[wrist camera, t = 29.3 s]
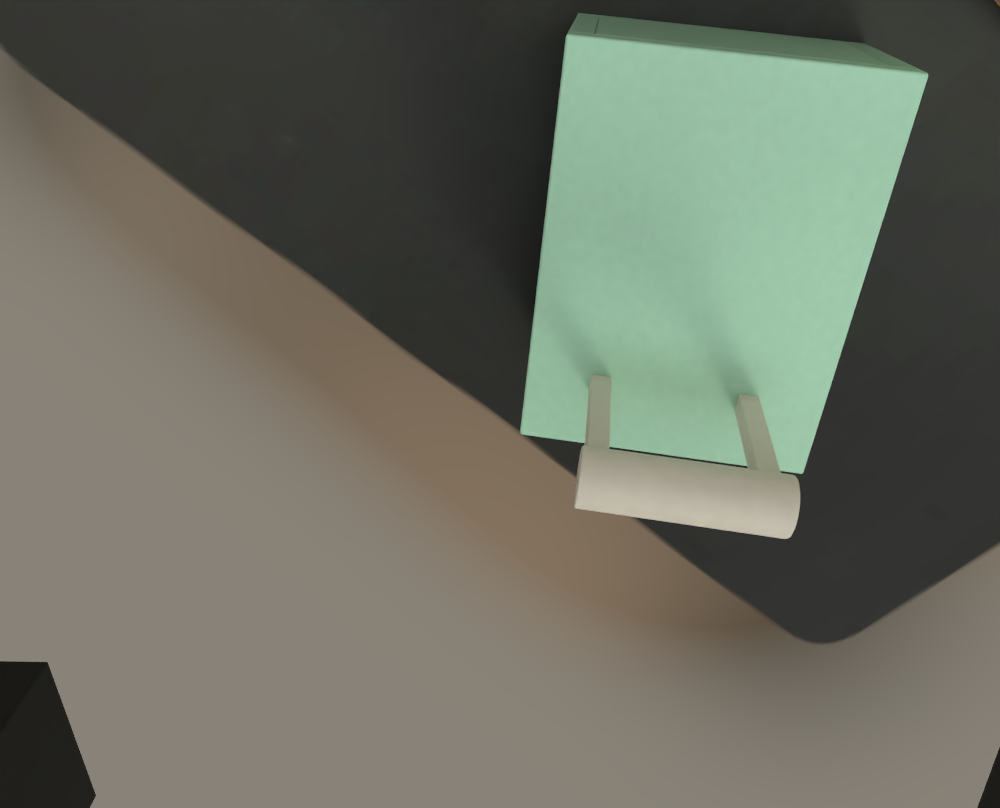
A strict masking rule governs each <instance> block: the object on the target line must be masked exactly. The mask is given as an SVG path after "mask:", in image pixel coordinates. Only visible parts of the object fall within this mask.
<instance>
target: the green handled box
mask: <svg viewBox="0 0 1000 808" xmlns="http://www.w3.org/2000/svg"><path fill="white" fill-rule="evenodd" d="M927 79H928V73H926V72H924V71H922V70H920V69H912V68H903V67H894V66H884V65H875V64H866V63H857V62H848V61H838V60H829V59H820V58H811V57H802V56H792V55H783V54H774V53H765V52H755V51H746V50H737V49H728V48H719V47H709V46H700V45H691V44H682V43H673V42H663V41H654V40H645V39H636V38H627V37H617V36H608V35H599V34H590V33H580V32H571V31H570V32H568V33H567V35H566V39H565V48H564V56H563V65H562V74H561V82H560V91H559V100H558V108H557V117H556V126H555V134H554V143H553V152H552V160H551V169H550V178H549V186H548V195H547V204H546V212H545V221H544V229H543V238H542V247H541V255H540V264H539V273H538V281H537V290H536V299H535V307H534V316H533V325H532V333H531V342H530V351H529V359H528V368H527V377H526V385H525V394H524V402H523V411H522V420H521V428H520V433H521V434H523V435H530V436H537V437H544V438H552V439H559V440H566V441H573V442H580V443H585V446H582V448H581V452H580V458H579V464H578V471H577V478H576V485H575V494H574V508H577V509H584V510H590V511H597V512H604V513H611V514H618V515H625V516H631V517H638V518H645V519H652V520H659V521H666V522H672V523H679V524H686V525H693V526H700V527H707V528H713V529H720V530H727V531H734V532H741V533H748V534H754V535H761V536H768V537H775V538H782V539H787V538H789V537H790V536H791V535H792V533H793V531H794V529H795V526H796V523H797V520H798V515H799V508H800V487H799V482H798V479H797V478H796V476H794V475H790V474H783V473H781V471H786V472H793V473H800V474H802V473H803V472H804V469H805V465H806V462H807V459H808V456H809V453H810V450H811V446H812V443H813V440H814V437H815V434H816V431H817V427H818V424H819V421H820V418H821V415H822V412H823V408H824V405H825V402H826V399H827V396H828V393H829V389H830V386H831V383H832V380H833V377H834V373H835V370H836V367H837V364H838V361H839V358H840V354H841V351H842V348H843V345H844V342H845V339H846V335H847V332H848V329H849V326H850V323H851V320H852V316H853V313H854V310H855V307H856V304H857V301H858V297H859V294H860V291H861V288H862V285H863V282H864V278H865V275H866V272H867V269H868V266H869V262H870V259H871V256H872V253H873V250H874V247H875V243H876V240H877V237H878V234H879V231H880V228H881V224H882V221H883V218H884V215H885V212H886V209H887V205H888V202H889V199H890V196H891V193H892V190H893V186H894V183H895V180H896V177H897V174H898V171H899V167H900V164H901V161H902V158H903V155H904V152H905V148H906V145H907V142H908V139H909V136H910V132H911V129H912V126H913V123H914V120H915V117H916V113H917V110H918V107H919V104H920V101H921V98H922V94H923V91H924V88H925V85H926V82H927ZM610 447H615V448H623V449H630V450H637V451H644V452H651V453H658V454H665V455H672V456H679V457H686V458H694V459H701V460H708V461H715V462H722V463H729V464H736V465H743V466H747V467H748V469H747V468H740V467H733V466H726V465H719V464H712V463H705V462H698V461H691V460H683V459H676V458H669V457H662V456H655V455H648V454H641V453H634V452H627V451H620V450H613V449H609V448H610Z"/></svg>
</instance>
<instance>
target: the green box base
mask: <svg viewBox="0 0 1000 808" xmlns="http://www.w3.org/2000/svg"><path fill="white" fill-rule="evenodd" d="M570 31H571V32H580V33H590V34H599V35H608V36H617V37H627V38H636V39H645V40H654V41H663V42H673V43H682V44H691V45H700V46H709V47H719V48H728V49H737V50H746V51H755V52H765V53H774V54H783V55H792V56H802V57H811V58H820V59H829V60H838V61H848V62H857V63H866V64H875V65H884V66H894V67H903V68H912V69H918V68H916V67H914V66H912V65H909V64H907V63H905V62H903V61H901V60H899V59H897V58H895V57H893V56H890V55H888V54H886V53H884V52H882V51H880V50H878V49H876V48H873V47H871V46H869V45H867V44H865V43H856V42H847V41H837V40H828V39H819V38H809V37H800V36H791V35H781V34H772V33H763V32H753V31H744V30H735V29H725V28H716V27H707V26H697V25H688V24H679V23H669V22H660V21H650V20H641V19H632V18H622V17H613V16H604V15H594V14H585V13H578V15H577V17H576V19H575V20H574V22H573V24H572V26H571V28H570V30H569V31H568V32H570Z"/></svg>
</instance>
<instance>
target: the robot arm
mask: <svg viewBox="0 0 1000 808" xmlns="http://www.w3.org/2000/svg"><path fill="white" fill-rule="evenodd" d="M95 796H96V795H95V792H94V789H93V787H92V784H91V781H90V778H89V775H88V773H87V770H86V767H85V764H84V762H83V759H82V756H81V753H80V751H79V748H78V745H77V742H76V740H75V737H74V734H73V731H72V729H71V726H70V723H69V720H68V718H67V715H66V712H65V709H64V707H63V704H62V701H61V698H60V696H59V693H58V690H57V687H56V685H55V682H54V679H53V677H52V674H51V671H50V668H49V665H48V663H47V662H0V808H90V806H91V804H92V802H93V800H94V798H95ZM978 808H1000V748H999V751H998V754H997V756H996V759H995V762H994V764H993V767H992V770H991V773H990V775H989V778H988V781H987V783H986V786H985V789H984V792H983V794H982V797H981V800H980V802H979V805H978Z"/></svg>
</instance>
